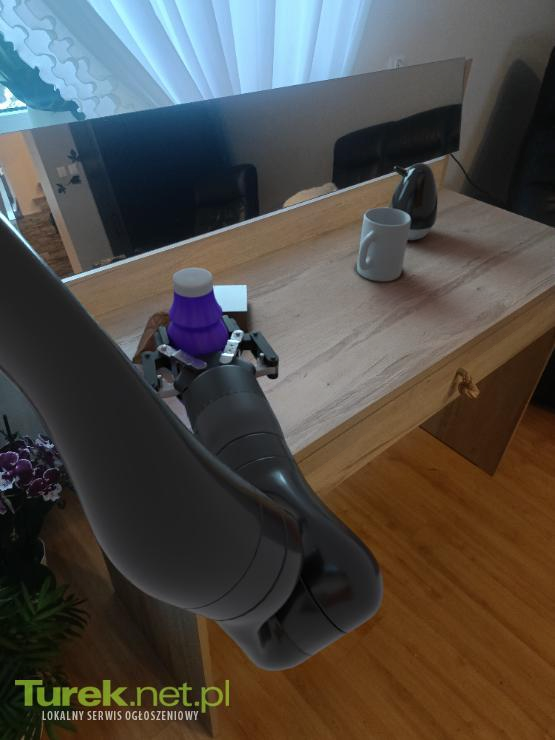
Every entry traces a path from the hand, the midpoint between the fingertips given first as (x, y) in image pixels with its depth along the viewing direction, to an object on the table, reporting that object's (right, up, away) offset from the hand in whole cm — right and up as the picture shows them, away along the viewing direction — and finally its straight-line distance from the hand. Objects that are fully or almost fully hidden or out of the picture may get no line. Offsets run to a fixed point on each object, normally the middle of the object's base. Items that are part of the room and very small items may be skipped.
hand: (193, 327), depth 57 cm
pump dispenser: (+38, +25, +51) cm, 69 cm away
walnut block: (+1, +4, +25) cm, 26 cm away
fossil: (-7, -2, +18) cm, 20 cm away
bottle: (+1, -9, +5) cm, 10 cm away
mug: (+28, +13, +38) cm, 49 cm away
